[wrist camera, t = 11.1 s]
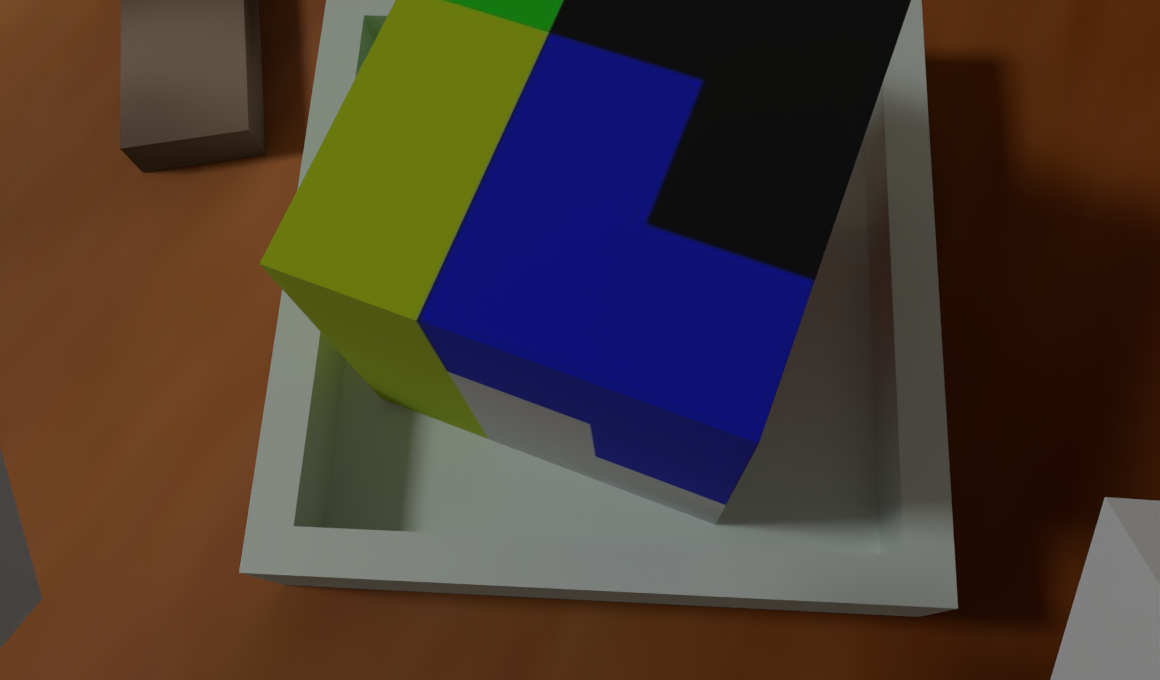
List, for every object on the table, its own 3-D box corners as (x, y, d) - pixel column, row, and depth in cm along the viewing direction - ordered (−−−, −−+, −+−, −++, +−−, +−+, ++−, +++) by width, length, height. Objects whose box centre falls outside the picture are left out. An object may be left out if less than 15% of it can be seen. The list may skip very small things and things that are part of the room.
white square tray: (891, 57, 33) (920, -12, 30) (918, 616, 28) (958, 608, 24) (358, 48, 34) (329, -20, 31) (284, 584, 29) (239, 572, 25)
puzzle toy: (715, 524, 28) (758, 444, 18) (381, 398, 29) (259, 263, 20) (825, 207, 30) (913, -7, 21) (514, 107, 32) (464, -134, 22)
